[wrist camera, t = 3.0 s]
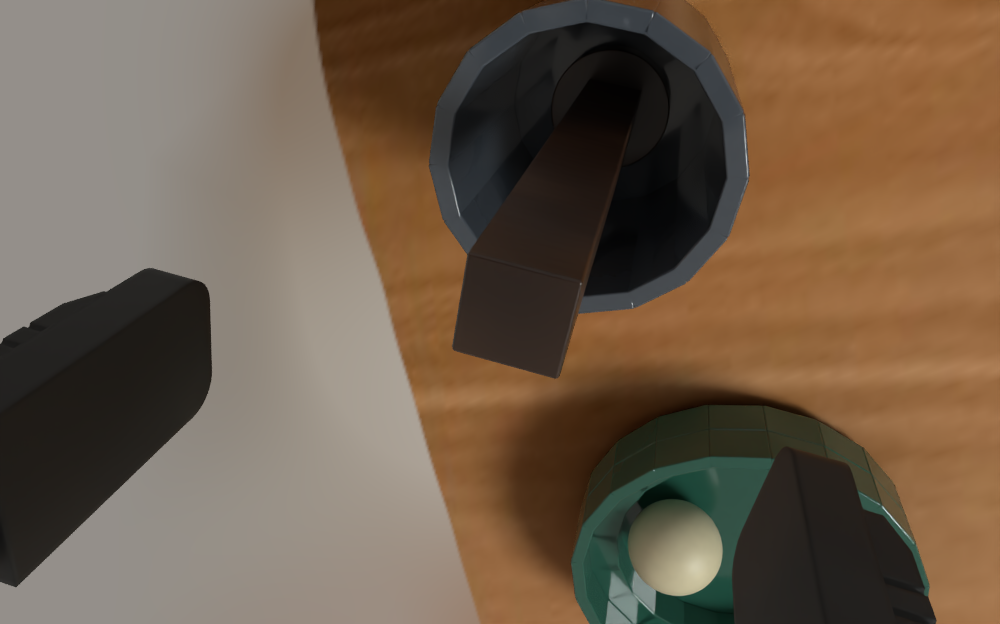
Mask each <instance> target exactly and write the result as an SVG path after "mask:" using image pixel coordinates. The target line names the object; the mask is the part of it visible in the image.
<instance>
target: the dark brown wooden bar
mask: <svg viewBox="0 0 1000 624" xmlns="http://www.w3.org/2000/svg"><path fill="white" fill-rule="evenodd" d="M669 112H670V92H669V87H668V84H667V81H666V79H665V77H664V75H663V73H662V71H661V70H660V68H659V67H658V66H657V64H656V63H655V62H654V61H653V60H652V59H650V58H649V57H648V56H647V55H645V54H644V53H642V52H640V51H638V50H636V49H634V48H630V47H627V46H620V45H609V46H602V47H599V48H595V49H593V50H590V51H588V52H587V53H585V54H583V55H582V56H580V57H579V58H578V59H576V60H575V61H574V62H573V63H572V64H571V65H570V66H569V67H568V69H567V70H566V71H565V72H564V74H563V75H562V76H561V78H560V80H559V81H558V83H557V85H556V88H555V90H554V94H553V97H552V104H551V116H552V123H553V127H554V131H553V132H552V134H551V135H550V137H549V138H548V139H547V141H546V142H545V144H544V145H543V147H542V148H541V149H540V151H539V152H538V154H537V155H536V157H535V158H534V159H533V161H532V162H531V164H530V165H529V167H528V168H527V169H526V171H525V172H524V174H523V175H522V177H521V178H520V180H519V181H518V182H517V184H516V185H515V187H514V188H513V190H512V191H511V192H510V194H509V195H508V197H507V198H506V200H505V201H504V202H503V204H502V205H501V207H500V208H499V210H498V211H497V212H496V214H495V215H494V217H493V218H492V220H491V221H490V222H489V224H488V225H487V227H486V228H485V230H484V231H483V233H482V234H481V235H480V237H479V238H478V240H477V241H476V243H475V244H474V245H473V247H472V248H471V250H470V251H469V253H468V255H467V261H466V267H465V273H464V279H463V285H462V291H461V297H460V303H459V309H458V315H457V321H456V327H455V333H454V339H453V345H452V347H453V350H454V351H457V352H461V353H464V354H468V355H472V356H475V357H479V358H483V359H486V360H490V361H493V362H497V363H501V364H504V365H508V366H511V367H515V368H519V369H522V370H526V371H530V372H533V373H537V374H540V375H544V376H548V377H551V378H558V377H559V376H560V373H561V370H562V366H563V363H564V360H565V356H566V353H567V349H568V346H569V343H570V339H571V336H572V332H573V329H574V326H575V322H576V319H577V316H578V312H579V309H580V305H581V302H582V299H583V295H584V292H585V289H586V285H587V282H588V278H589V275H590V272H591V268H592V265H593V262H594V258H595V255H596V251H597V248H598V245H599V241H600V238H601V235H602V231H603V228H604V224H605V221H606V218H607V214H608V211H609V208H610V204H611V201H612V197H613V194H614V191H615V187H616V184H617V181H618V177H619V174H620V170H621V167H625V166H628V165H631V164H633V163H635V162H637V161H639V160H641V159H642V158H644V157H645V156H646V155H648V154H649V153H650V152H651V151H652V150H653V149H654V148H655V147H656V145H657V144H658V143H659V141H660V140H661V138H662V136H663V134H664V132H665V129H666V127H667V123H668V119H669Z"/></svg>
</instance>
